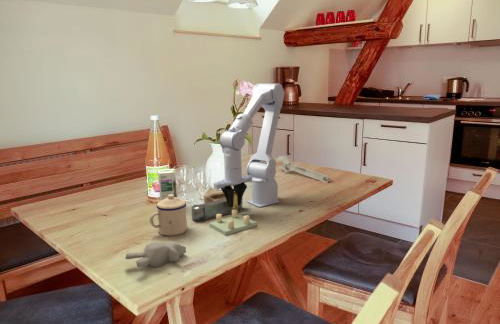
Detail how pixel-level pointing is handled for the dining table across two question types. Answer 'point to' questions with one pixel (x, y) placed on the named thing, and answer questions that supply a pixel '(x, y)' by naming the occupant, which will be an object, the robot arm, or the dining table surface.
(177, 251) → the bunny figurine
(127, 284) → the dining table surface
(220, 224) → the rack
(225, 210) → the ball-knob grey rod
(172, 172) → the syrup box
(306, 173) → the wrench
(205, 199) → the slot block
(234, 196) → the pin
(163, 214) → the teacup with lid
